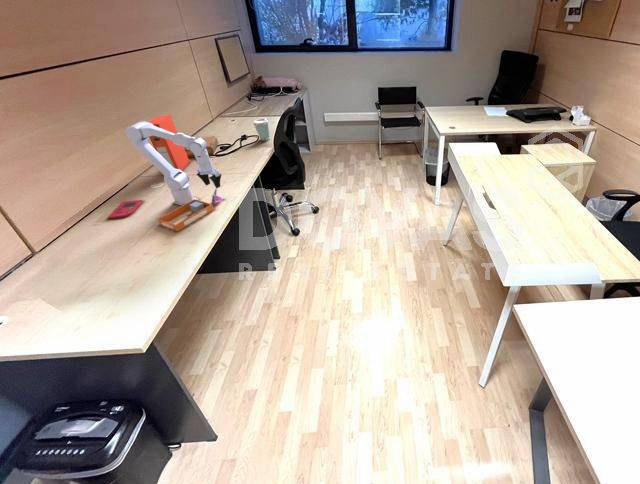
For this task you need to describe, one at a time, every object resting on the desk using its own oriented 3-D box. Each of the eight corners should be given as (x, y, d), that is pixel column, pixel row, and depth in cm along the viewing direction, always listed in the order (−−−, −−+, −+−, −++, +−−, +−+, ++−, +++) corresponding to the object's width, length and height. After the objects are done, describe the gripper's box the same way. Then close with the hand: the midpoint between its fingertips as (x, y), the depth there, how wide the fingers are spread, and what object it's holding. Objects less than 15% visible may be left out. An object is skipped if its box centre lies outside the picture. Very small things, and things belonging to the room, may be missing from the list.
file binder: (166, 174, 198) (143, 124, 180) (176, 163, 212) (156, 115, 195) (180, 173, 199) (159, 123, 182) (189, 162, 213) (170, 114, 196)
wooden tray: (159, 225, 152) (156, 219, 150) (197, 204, 167) (194, 199, 166) (177, 231, 148) (174, 225, 146) (214, 210, 163) (212, 204, 161)
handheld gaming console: (106, 216, 156) (122, 201, 169) (108, 219, 157) (123, 203, 169) (128, 214, 158) (142, 199, 170) (129, 216, 159) (143, 201, 171)
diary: (214, 154, 224) (211, 146, 221) (184, 158, 219) (181, 150, 215) (218, 143, 242) (216, 135, 239) (190, 146, 237) (188, 139, 234)
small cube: (191, 211, 161) (188, 205, 159) (198, 207, 165) (196, 201, 162) (198, 213, 160) (195, 207, 158) (205, 209, 163) (202, 203, 161)
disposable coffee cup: (269, 141, 244) (264, 122, 236) (255, 141, 244) (250, 122, 236) (274, 136, 253) (269, 118, 245) (260, 136, 253) (255, 118, 245)
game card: (214, 186, 170) (211, 194, 163) (225, 188, 172) (222, 196, 165) (213, 197, 173) (210, 205, 166) (224, 198, 175) (221, 207, 168)
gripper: (187, 163, 158) (196, 186, 166) (207, 168, 153) (216, 192, 161) (199, 157, 164) (208, 180, 171) (219, 162, 159) (227, 185, 166)
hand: (213, 185), depth 166 cm, fingers open, 7 cm apart
